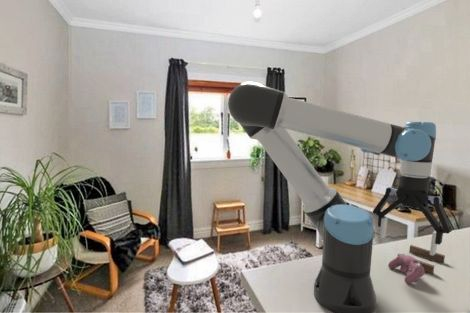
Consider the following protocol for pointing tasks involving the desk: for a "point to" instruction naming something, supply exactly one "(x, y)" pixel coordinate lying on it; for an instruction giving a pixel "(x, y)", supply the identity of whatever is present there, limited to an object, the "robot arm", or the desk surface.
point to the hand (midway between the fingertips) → (406, 245)
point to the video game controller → (405, 263)
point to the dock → (426, 254)
